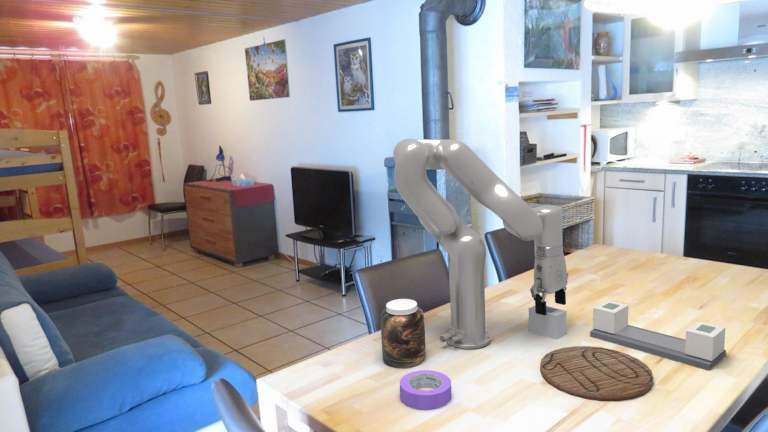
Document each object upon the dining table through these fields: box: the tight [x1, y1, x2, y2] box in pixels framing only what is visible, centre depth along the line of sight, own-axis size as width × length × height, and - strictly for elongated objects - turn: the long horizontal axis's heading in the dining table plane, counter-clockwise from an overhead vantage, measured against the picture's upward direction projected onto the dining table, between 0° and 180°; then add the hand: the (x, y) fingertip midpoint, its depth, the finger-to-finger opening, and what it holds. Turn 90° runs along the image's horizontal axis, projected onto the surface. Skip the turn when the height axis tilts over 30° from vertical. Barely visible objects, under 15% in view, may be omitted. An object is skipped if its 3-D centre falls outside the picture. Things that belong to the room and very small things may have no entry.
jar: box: [380, 298, 427, 369], centre depth 142 cm, size 12×12×15 cm
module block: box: [528, 305, 568, 340], centre depth 154 cm, size 5×9×7 cm, turn 41°
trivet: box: [539, 345, 654, 402], centre depth 129 cm, size 25×25×2 cm
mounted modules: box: [592, 300, 726, 361], centre depth 142 cm, size 8×30×6 cm, turn 41°
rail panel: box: [589, 324, 727, 371], centre depth 143 cm, size 11×30×2 cm, turn 41°
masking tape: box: [399, 369, 452, 411], centre depth 123 cm, size 12×12×4 cm
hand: (550, 308), depth 153 cm, fingers open, 9 cm apart
